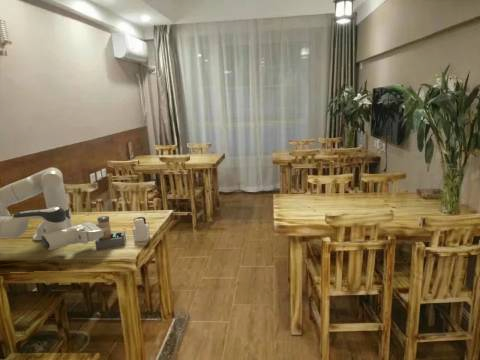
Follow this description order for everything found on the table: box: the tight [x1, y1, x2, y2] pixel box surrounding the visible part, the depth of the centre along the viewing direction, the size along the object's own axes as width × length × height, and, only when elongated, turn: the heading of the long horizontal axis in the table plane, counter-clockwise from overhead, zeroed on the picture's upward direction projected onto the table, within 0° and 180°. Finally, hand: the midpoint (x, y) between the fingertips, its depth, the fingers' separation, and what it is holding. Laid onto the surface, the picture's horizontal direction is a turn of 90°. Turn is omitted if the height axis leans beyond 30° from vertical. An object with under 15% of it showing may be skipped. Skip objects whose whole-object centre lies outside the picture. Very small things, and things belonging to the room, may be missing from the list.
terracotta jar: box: [96, 215, 112, 240], centre depth 185 cm, size 6×6×12 cm
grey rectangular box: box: [94, 230, 127, 250], centre depth 187 cm, size 14×10×5 cm
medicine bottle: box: [132, 216, 151, 243], centre depth 189 cm, size 7×7×12 cm
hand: (106, 226), depth 185 cm, fingers closed on terracotta jar, 5 cm apart
